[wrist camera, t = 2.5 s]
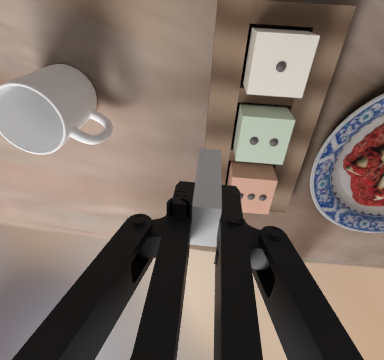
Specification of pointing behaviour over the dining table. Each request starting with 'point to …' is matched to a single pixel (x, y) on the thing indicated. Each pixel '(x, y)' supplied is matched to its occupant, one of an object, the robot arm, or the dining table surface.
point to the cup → (49, 109)
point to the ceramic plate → (353, 171)
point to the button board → (299, 107)
